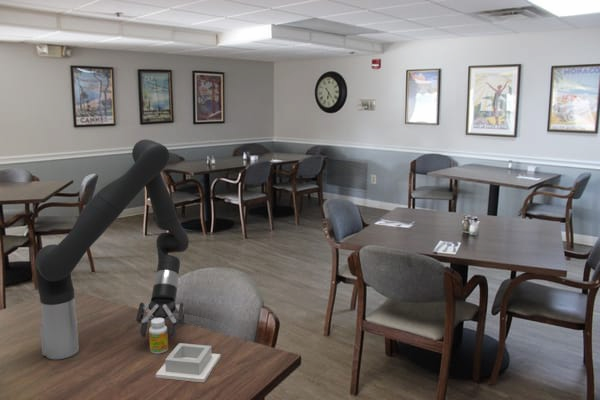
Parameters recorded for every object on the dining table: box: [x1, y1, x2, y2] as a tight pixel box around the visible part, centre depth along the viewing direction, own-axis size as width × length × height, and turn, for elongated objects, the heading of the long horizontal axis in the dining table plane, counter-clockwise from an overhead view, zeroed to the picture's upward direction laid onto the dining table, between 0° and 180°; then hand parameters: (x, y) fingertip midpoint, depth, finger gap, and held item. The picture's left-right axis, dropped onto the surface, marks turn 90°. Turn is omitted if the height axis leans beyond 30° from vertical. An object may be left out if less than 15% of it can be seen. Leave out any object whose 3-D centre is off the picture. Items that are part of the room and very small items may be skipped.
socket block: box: [155, 342, 221, 383], centre depth 146 cm, size 14×14×4 cm
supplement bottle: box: [148, 318, 169, 355], centre depth 155 cm, size 5×5×10 cm
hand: (157, 336), depth 154 cm, fingers open, 8 cm apart
